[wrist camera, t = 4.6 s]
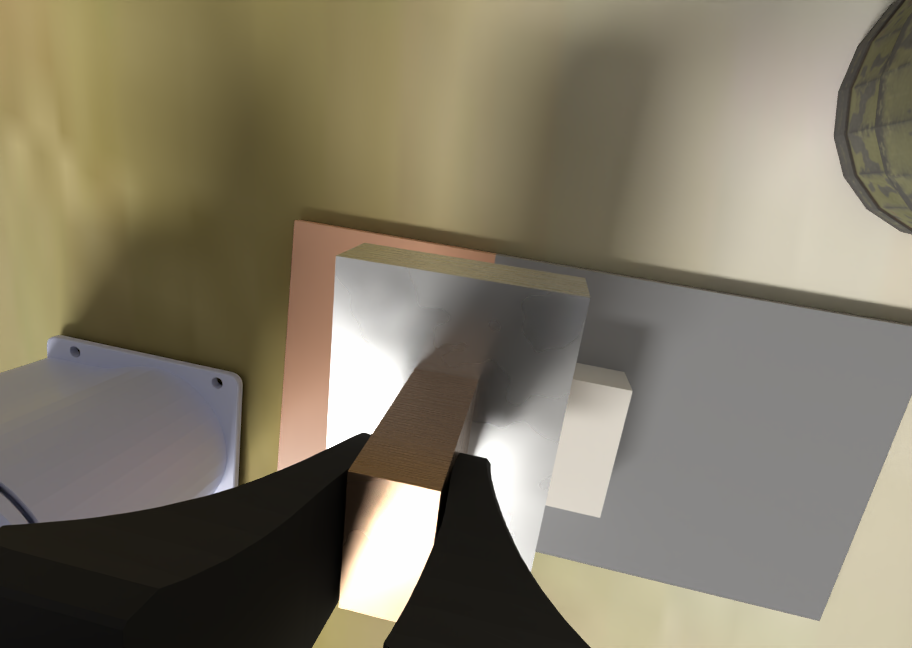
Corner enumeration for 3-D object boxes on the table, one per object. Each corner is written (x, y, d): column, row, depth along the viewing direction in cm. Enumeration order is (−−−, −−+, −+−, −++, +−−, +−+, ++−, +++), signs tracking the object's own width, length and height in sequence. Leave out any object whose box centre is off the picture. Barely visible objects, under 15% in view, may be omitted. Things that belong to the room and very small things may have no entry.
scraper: (348, 486, 17) (232, 673, 11) (364, 242, 14) (222, 307, 8) (532, 528, 16) (519, 753, 10) (585, 277, 14) (611, 378, 7)
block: (473, 460, 21) (465, 486, 20) (493, 346, 20) (487, 361, 18) (595, 488, 21) (600, 518, 19) (624, 372, 20) (632, 391, 18)
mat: (281, 482, 24) (276, 488, 23) (300, 219, 21) (294, 220, 20) (813, 611, 21) (819, 621, 20) (927, 327, 18) (937, 331, 17)
